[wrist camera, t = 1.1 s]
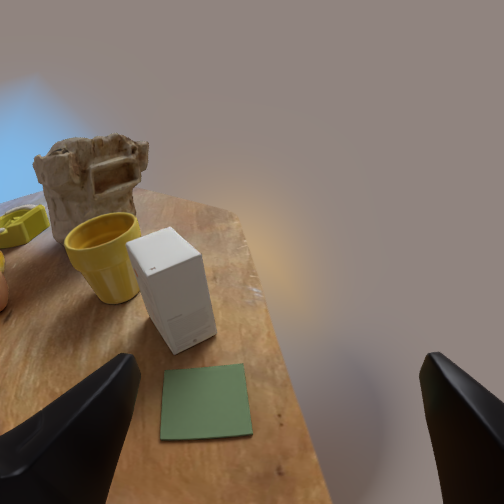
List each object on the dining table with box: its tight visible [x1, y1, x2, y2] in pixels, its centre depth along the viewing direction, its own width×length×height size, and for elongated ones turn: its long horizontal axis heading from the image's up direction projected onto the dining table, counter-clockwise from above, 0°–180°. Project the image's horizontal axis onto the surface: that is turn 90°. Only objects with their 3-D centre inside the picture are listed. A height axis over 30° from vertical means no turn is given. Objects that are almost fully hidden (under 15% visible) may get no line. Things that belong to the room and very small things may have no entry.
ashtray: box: [0, 204, 50, 249], centre depth 62 cm, size 16×21×5 cm
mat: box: [160, 363, 253, 440], centre depth 26 cm, size 8×8×1 cm
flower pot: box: [64, 212, 141, 304], centre depth 39 cm, size 10×10×10 cm
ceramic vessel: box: [33, 133, 149, 245], centre depth 53 cm, size 23×24×25 cm
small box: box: [125, 227, 217, 355], centre depth 32 cm, size 8×6×10 cm
